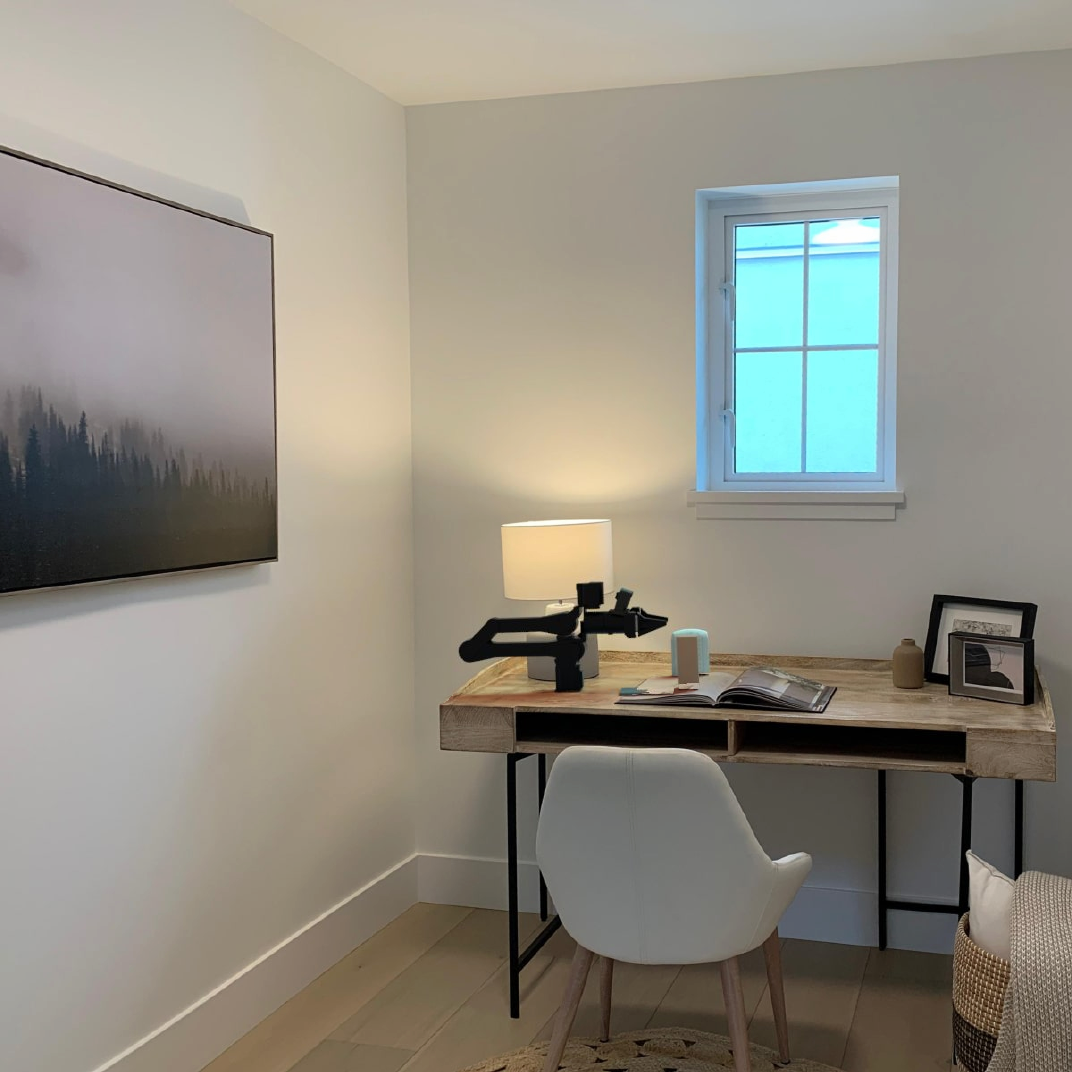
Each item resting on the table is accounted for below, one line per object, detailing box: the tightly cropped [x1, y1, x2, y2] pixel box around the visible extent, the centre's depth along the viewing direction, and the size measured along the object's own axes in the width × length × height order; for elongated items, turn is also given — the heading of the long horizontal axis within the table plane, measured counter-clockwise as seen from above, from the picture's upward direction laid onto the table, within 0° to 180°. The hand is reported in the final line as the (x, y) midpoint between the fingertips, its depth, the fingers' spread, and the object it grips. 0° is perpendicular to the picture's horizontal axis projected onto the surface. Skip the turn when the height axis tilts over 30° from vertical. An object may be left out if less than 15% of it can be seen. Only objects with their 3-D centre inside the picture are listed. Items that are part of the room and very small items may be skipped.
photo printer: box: [670, 628, 710, 677], centre depth 317 cm, size 10×4×12 cm, turn 98°
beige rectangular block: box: [676, 634, 700, 685], centre depth 295 cm, size 5×5×13 cm
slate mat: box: [618, 686, 649, 697], centre depth 291 cm, size 13×9×1 cm
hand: (667, 621), depth 296 cm, fingers open, 9 cm apart
